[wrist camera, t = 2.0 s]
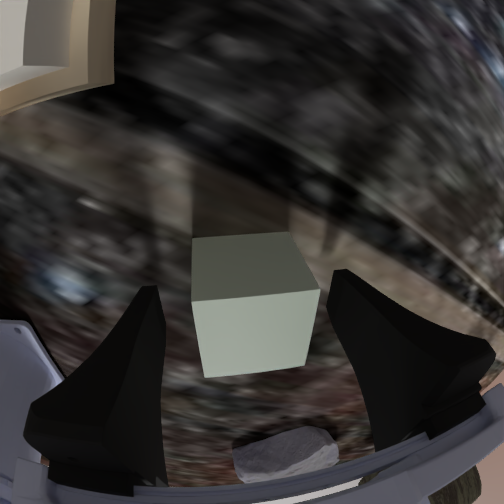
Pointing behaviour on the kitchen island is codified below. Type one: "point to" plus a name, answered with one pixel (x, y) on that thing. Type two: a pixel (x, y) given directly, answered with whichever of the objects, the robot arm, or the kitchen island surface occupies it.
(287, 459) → the stone block
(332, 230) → the kitchen island surface
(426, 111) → the kitchen island surface
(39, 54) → the cream top block
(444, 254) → the kitchen island surface
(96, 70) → the maple base block
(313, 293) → the sage cube
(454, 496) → the tabletop clock
